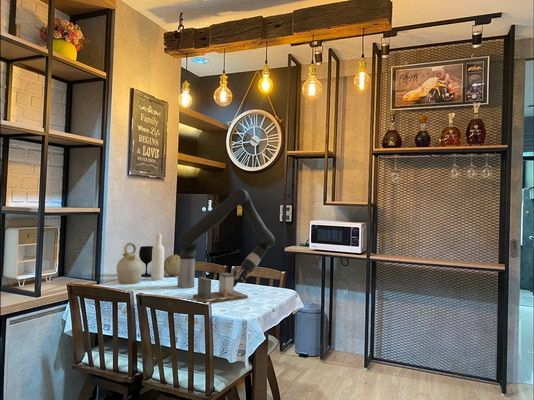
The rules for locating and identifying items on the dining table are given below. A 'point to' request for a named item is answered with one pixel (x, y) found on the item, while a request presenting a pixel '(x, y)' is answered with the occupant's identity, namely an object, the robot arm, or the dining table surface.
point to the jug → (129, 267)
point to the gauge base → (222, 297)
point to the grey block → (226, 283)
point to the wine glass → (146, 257)
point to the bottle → (158, 259)
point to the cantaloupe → (172, 265)
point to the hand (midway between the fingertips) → (232, 285)
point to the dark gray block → (204, 288)
